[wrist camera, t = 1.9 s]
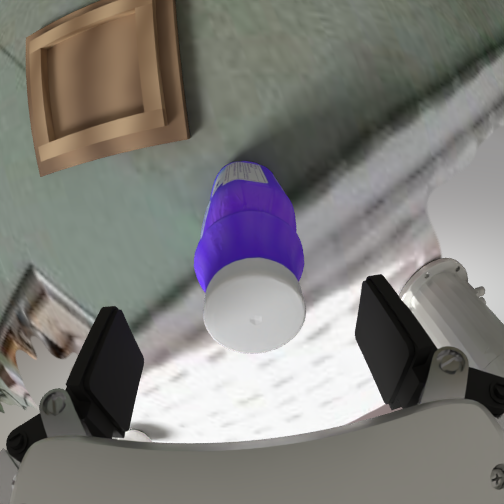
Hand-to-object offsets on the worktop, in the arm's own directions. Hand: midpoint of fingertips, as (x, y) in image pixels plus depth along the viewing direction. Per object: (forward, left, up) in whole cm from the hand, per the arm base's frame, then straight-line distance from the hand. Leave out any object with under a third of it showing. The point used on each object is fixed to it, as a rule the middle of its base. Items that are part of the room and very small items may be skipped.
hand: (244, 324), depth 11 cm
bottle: (0, 0, -18) cm, 18 cm away
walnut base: (+12, -14, -18) cm, 25 cm away
